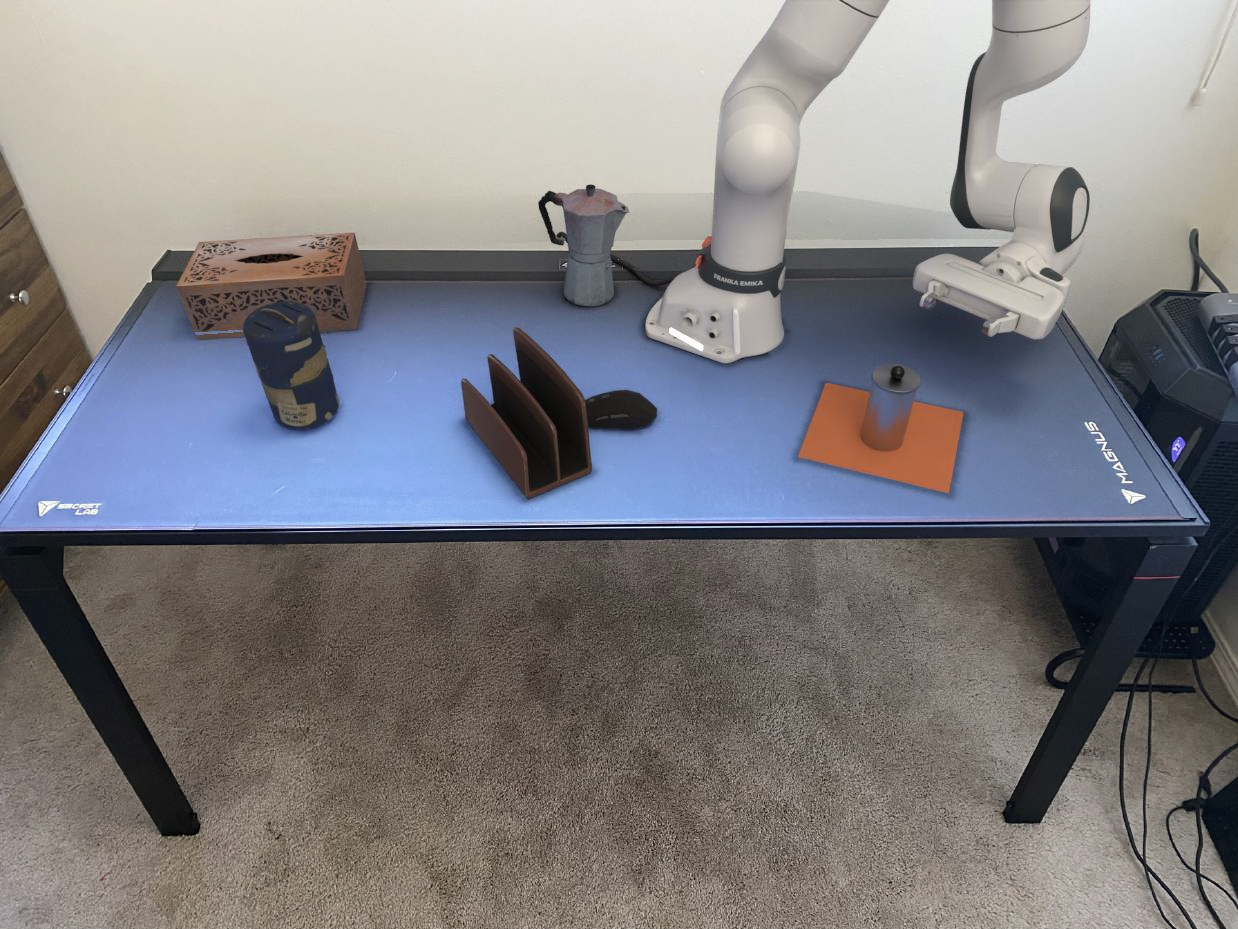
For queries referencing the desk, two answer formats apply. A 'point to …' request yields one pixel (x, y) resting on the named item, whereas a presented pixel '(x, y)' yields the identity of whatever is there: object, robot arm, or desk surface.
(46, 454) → the desk surface
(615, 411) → the gaming mouse
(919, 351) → the desk surface
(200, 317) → the tissue box cover
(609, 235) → the moka pot
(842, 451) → the napkin
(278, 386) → the canister
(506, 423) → the letter holder
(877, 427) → the pot
